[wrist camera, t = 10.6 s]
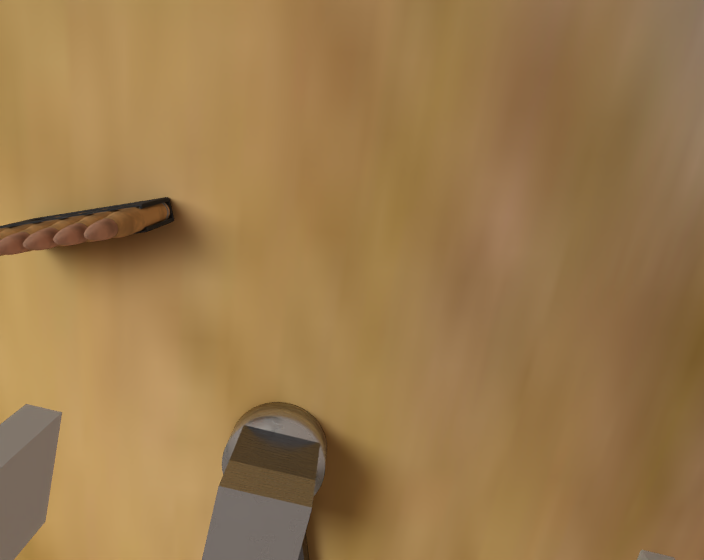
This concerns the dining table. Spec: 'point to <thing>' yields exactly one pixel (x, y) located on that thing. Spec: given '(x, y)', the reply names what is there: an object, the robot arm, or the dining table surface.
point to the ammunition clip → (84, 226)
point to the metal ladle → (287, 423)
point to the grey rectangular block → (263, 498)
